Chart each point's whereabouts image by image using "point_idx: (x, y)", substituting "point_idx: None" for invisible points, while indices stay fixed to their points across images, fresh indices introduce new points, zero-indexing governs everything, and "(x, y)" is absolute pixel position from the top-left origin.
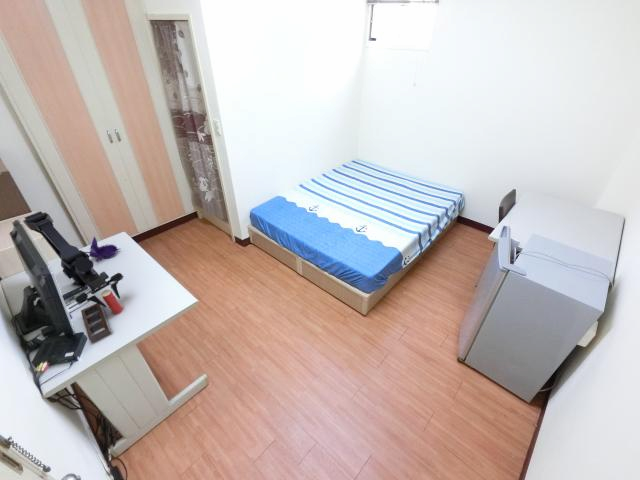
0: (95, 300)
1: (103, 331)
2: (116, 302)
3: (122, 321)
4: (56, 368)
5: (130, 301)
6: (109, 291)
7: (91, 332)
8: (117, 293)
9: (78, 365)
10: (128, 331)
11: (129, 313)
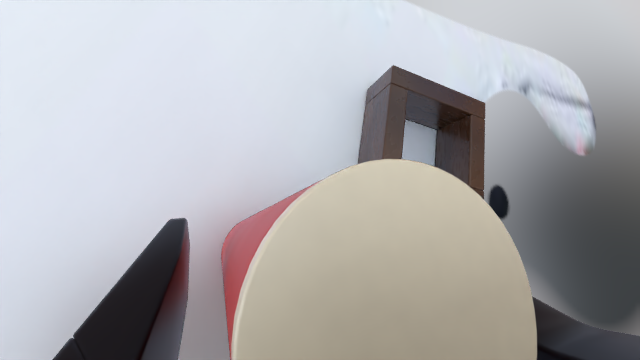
0: (549, 310)
1: (419, 79)
2: (248, 219)
3: (285, 117)
4: (559, 126)
5: (117, 281)
6: (296, 295)
7: (459, 157)
8: (136, 285)
9: (507, 63)
10: (297, 13)
11: (212, 143)
